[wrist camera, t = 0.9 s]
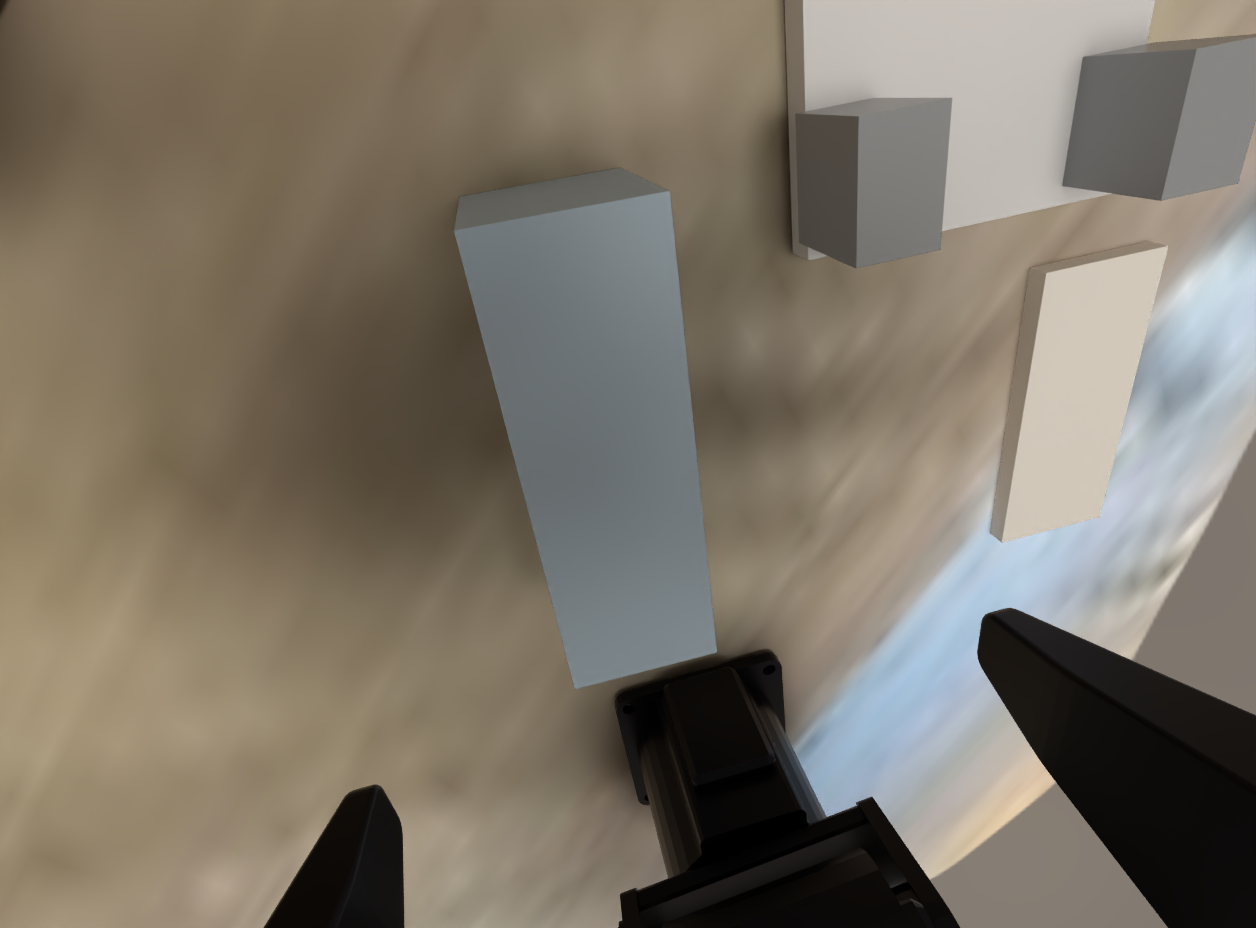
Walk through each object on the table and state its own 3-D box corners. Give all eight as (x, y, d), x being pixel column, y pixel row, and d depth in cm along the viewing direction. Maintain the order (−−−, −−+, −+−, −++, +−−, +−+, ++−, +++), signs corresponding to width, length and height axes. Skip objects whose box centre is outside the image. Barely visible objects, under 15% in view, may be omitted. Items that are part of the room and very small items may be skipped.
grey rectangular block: (671, 547, 23) (716, 652, 18) (555, 575, 22) (574, 689, 18) (619, 167, 17) (669, 190, 12) (459, 195, 16) (453, 230, 12)
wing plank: (1075, 500, 26) (1099, 517, 25) (980, 524, 26) (1001, 542, 24) (1134, 238, 21) (1168, 245, 20) (1017, 264, 20) (1046, 273, 19)
